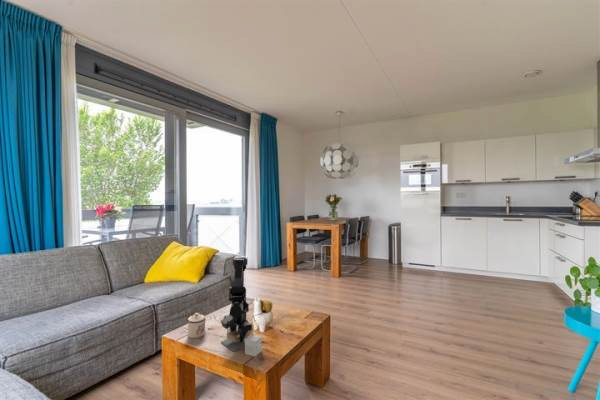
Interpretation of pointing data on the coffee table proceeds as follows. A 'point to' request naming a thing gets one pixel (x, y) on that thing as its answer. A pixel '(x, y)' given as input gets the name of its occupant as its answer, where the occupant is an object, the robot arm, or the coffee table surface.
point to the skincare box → (253, 345)
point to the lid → (235, 336)
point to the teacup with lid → (196, 326)
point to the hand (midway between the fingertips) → (237, 339)
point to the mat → (233, 344)
